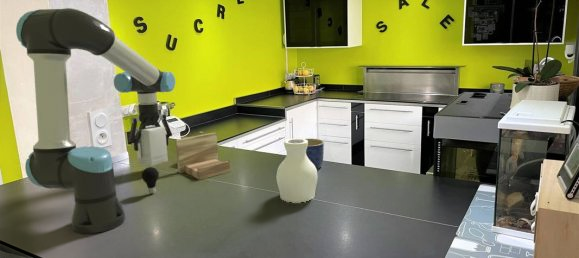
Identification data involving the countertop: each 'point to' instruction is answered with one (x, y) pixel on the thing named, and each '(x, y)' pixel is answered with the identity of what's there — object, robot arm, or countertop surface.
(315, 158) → the planter
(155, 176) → the light bulb
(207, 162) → the cleat board
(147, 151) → the supplement box
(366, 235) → the countertop surface
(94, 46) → the robot arm
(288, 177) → the vase
